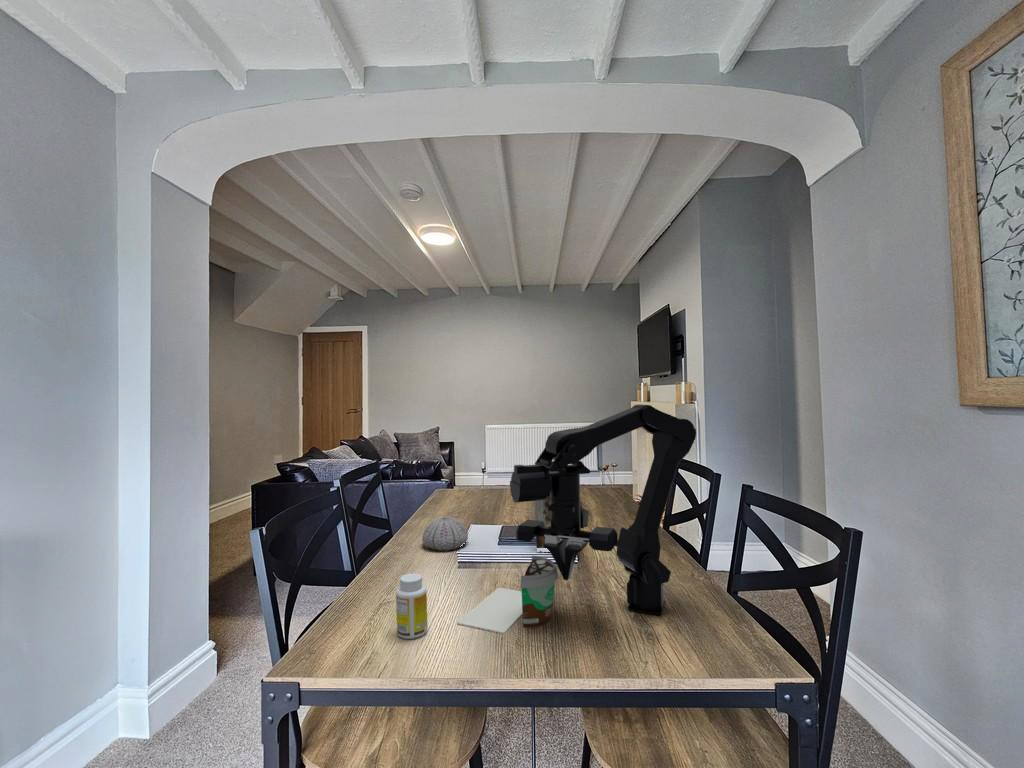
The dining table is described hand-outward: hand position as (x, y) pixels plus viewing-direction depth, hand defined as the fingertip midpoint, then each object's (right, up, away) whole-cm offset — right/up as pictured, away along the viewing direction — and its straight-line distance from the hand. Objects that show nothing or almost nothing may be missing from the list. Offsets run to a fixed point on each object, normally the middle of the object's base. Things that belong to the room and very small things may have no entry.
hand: (566, 579), depth 94 cm
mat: (-13, -8, +6) cm, 16 cm away
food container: (-4, -8, +2) cm, 10 cm away
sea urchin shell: (-30, -10, +48) cm, 57 cm away
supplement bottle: (-29, -9, -3) cm, 30 cm away
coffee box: (+1, -9, +43) cm, 43 cm away
